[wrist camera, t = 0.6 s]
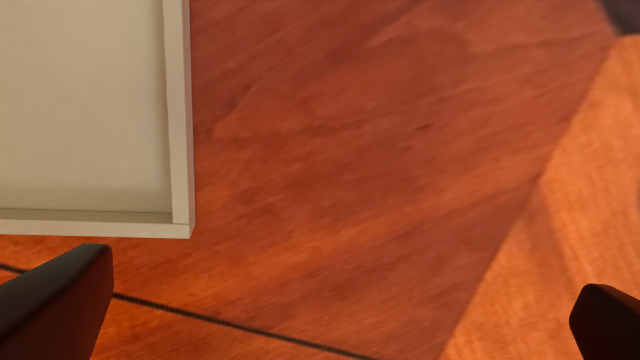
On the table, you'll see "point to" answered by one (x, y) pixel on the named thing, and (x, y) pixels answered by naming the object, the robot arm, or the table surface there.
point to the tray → (96, 118)
